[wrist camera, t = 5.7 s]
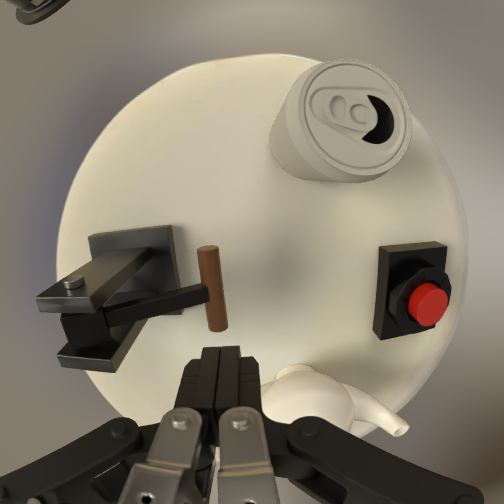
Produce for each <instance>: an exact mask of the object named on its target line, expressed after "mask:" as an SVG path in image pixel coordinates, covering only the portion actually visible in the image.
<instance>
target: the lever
mask: <svg viewBox="0 0 504 504" xmlns="http://www.w3.org/2000/svg"><path fill="white" fill-rule="evenodd" d="M197 254H198V262H199V269H200V276H201V283H200V284H196V285H192V286H188V287H184V288H180V289H176V290H172V291H168V292H164V293H160V294H156V295H152V296H148V297H144V298H140V299H136V300H132V301H128V302H124V303H119V304H115V305H111V306H107V307H104V306H103V305H102V306H101V307H100V308H99V309H98V310H97V311H96V312H95V313H61V318H60V320H61V323H62V326H63V329H64V332H65V334H66V337H67V340H68V342H69V345H70V347H71V350H76V349H80V348H84V347H88V346H93V345H97V344H101V343H105V342H109V341H111V334H110V328H112V327H116V326H120V325H124V324H128V323H132V322H136V321H140V320H143V319H147V318H151V317H155V316H159V315H162V314H166V313H170V312H174V311H177V310H181V309H185V308H188V307H192V306H195V305H199V304H202V303H205V309H206V315H207V321H208V327H209V330H210V331H212V332H222V331H225V330H226V329H227V328H228V320H227V313H226V305H225V297H224V289H223V281H222V273H221V264H220V256H219V248H218V246H214V245H210V246H203V247H200V248H198V249H197Z"/></svg>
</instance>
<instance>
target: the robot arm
mask: <svg viewBox="0 0 504 504" xmlns="http://www.w3.org/2000/svg"><path fill="white" fill-rule="evenodd" d="M5 1H6V2H8V3H10V4H12V5H14V6H15V7H17V8H19V9H20V10H21V11H22V12H24V13H26V14H32V13H35V12H38V11H40V10H42V9H43V8H45V7H47V6H48V5H49V4H51V3H52V2H53V1H55V0H5ZM180 383H181V384H180V386H179V390H178V393H177V397H176V401H175V405H174V408H173V409H172V410H170V411H169V412H167V413H166V414H165V415H164V416H163V418H162V420H161V422H159V423H157V424H152V425H146V426H140V427H138V425H137V423H136V422H135V421H134V420H132V419H130V418H126V417H119V418H115V419H112V420H110V421H108V422H107V423H105V424H103V425H102V426H100V427H98V428H97V429H95V430H93V431H91V432H90V433H88V434H86V435H84V436H82V437H80V438H79V439H77V440H75V441H73V442H71V443H70V444H67V445H66V446H64V447H62V448H60V449H58V450H56V451H54V452H52V453H50V454H48V455H46V456H44V457H42V458H40V459H38V460H36V461H34V462H32V463H30V464H28V465H26V466H24V467H22V468H20V469H17V470H15V471H13V472H11V473H9V474H6V475H4V476H2V477H0V504H209V499H210V493H211V488H212V482H213V476H214V471H215V465H216V460H215V450H216V447H220V470H219V471H218V476H217V479H218V503H219V504H280V500H279V495H278V490H277V485H276V481H275V476H277V477H283V478H288V480H289V481H290V482H291V483H292V484H294V485H295V486H297V487H298V488H299V489H301V490H302V491H304V492H305V493H307V494H308V495H309V496H311V497H312V498H314V499H315V500H317V501H319V502H320V503H321V504H484V497H483V494H482V493H481V491H480V490H479V489H478V488H476V487H474V486H471V485H468V484H465V483H462V482H459V481H456V480H453V479H451V478H448V477H445V476H442V475H440V474H437V473H434V472H432V471H429V470H427V469H424V468H422V467H419V466H417V465H415V464H412V463H410V462H408V461H405V460H403V459H401V458H399V457H397V456H394V455H392V454H390V453H388V452H386V451H384V450H382V449H380V448H378V447H375V446H374V445H371V444H369V443H367V442H365V441H364V440H362V439H360V438H358V437H356V436H354V435H352V434H350V433H348V432H346V431H345V430H343V429H341V428H339V427H337V426H336V425H334V424H332V423H330V422H328V421H327V420H325V419H323V418H321V417H317V416H304V417H301V418H298V419H296V420H294V421H293V422H292V423H291V424H287V423H280V422H276V421H273V420H271V419H270V418H268V417H267V416H266V415H265V414H264V412H263V410H262V399H261V386H260V375H259V364H258V362H257V361H256V360H255V359H254V357H253V356H251V357H241V352H240V346H223V347H222V348H221V347H204V348H203V350H202V355H201V359H192V360H191V361H190V362H189V363H188V364H187V365H186V366H185V368H184V371H183V375H182V379H181V382H180ZM119 462H120V463H119ZM118 463H119V464H118ZM116 464H118V465H116ZM114 465H116V466H115V467H113V466H114ZM111 467H113V468H111ZM110 468H111V469H110ZM108 469H110V470H108ZM106 470H108V471H107V472H105V473H103V472H104V471H106ZM101 473H103V474H101ZM99 474H101V475H100V476H98V475H99ZM96 476H98V477H96ZM95 477H96V478H95Z"/></svg>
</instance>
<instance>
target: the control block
mask: <svg viewBox="0 0 504 504" xmlns="http://www.w3.org/2000/svg"><path fill="white" fill-rule="evenodd" d="M446 255H447V246H445V245H443V244H440V243H438V242H436V241H434V242H423V243H412V244H401V245H390V246H380V247H379V261H378V278H377V292H376V303H375V313H374V322H373V331H374V333H375V334H376V335H377V337H378V338H379V339H380V340H385V339H390V338H395V337H399V336H404V335H408V334H415V333H419V332H423V331H426V330H428V329H432V328H435V324H436V323H437V322H436V323H435V324H433V325H431V326H422V325H421V324H420V323H418V322H417V321H416V320H415V319H414V318H413V317H412V316H411V315H410V313H409V311H408V302H409V298H410V296H411V294H412V292H413V291H414V290H415V289H416V288H417V287H418V286H419V285H421V284H423V283H426V282H430V283H433V284H434V285H436V286H437V287H439V288H440V289H442V290H443V291H444V292H445V293H446V295H447V298H448V304H447V307H448V305H449V300H450V295H451V284H450V281H449V278H448V275H447V274H446V273H445V264H446ZM446 309H447V308H446Z"/></svg>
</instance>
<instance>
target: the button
mask: <svg viewBox="0 0 504 504" xmlns="http://www.w3.org/2000/svg"><path fill="white" fill-rule="evenodd" d="M447 304H448V298H447V295H446V293H445V292H444V291H443V290H442V289H440V288H439V287H437V286H436V285H434V284H433V283H430V282H426V283H423V284H421V285H419V286H418V287H417V288H416V289H415V290H414V291H413V292H412V294H411V296H410V298H409V302H408V311H409V313H410V315H411V316H412V317H413V318H414V319H415V320H416V321H417V322H418V323H420V324H421V325H422V326H431V325H433V324H435V323H436V322H438V321H439V320H440V319H441V317H442V316H443V314H444V313H445V311H446V308H447Z"/></svg>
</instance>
